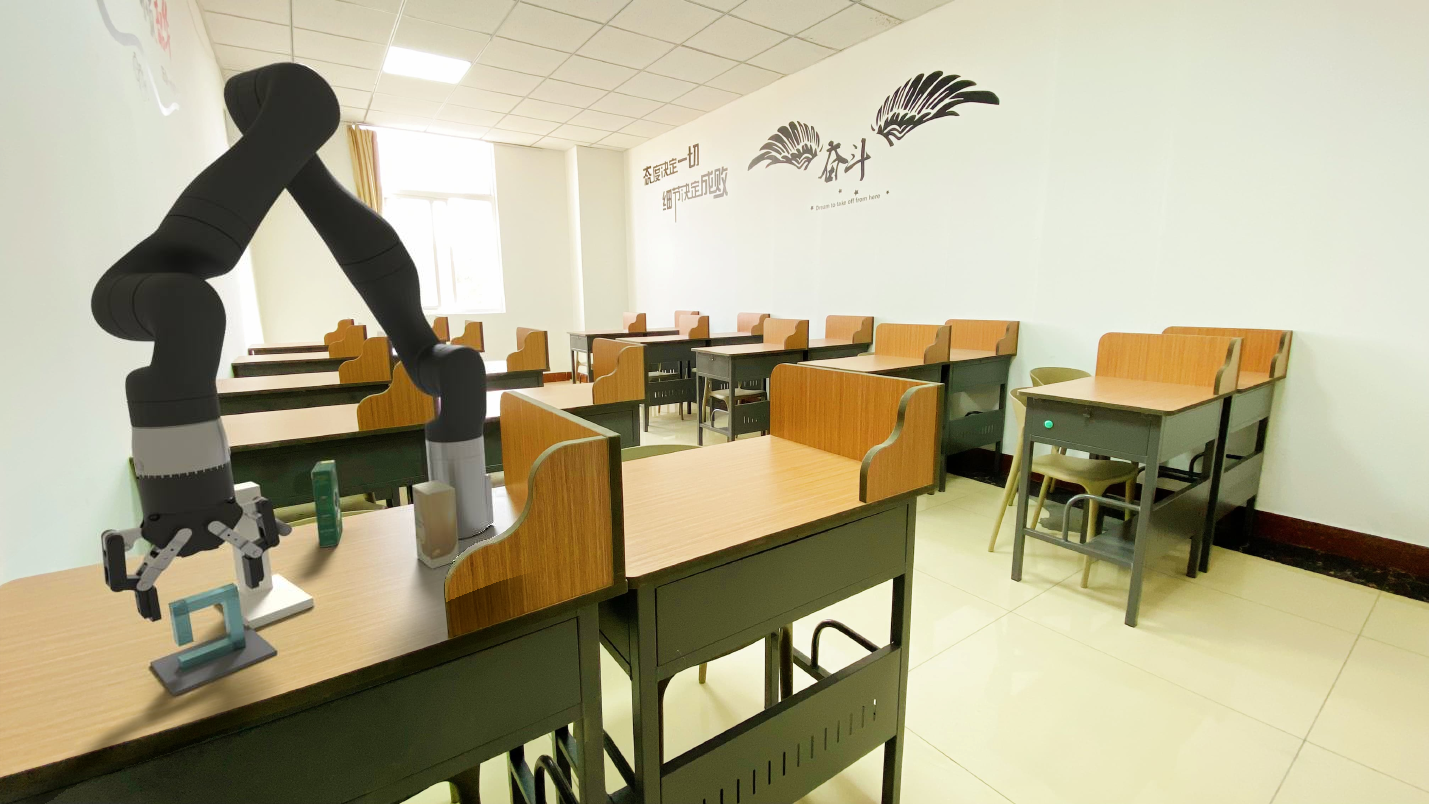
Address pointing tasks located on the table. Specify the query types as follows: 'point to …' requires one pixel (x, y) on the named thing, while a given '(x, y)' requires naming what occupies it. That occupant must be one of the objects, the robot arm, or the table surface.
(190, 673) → the pad
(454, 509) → the skincare box
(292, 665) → the table surface
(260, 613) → the stand
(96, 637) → the table surface
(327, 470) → the coffee box
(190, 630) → the c link
